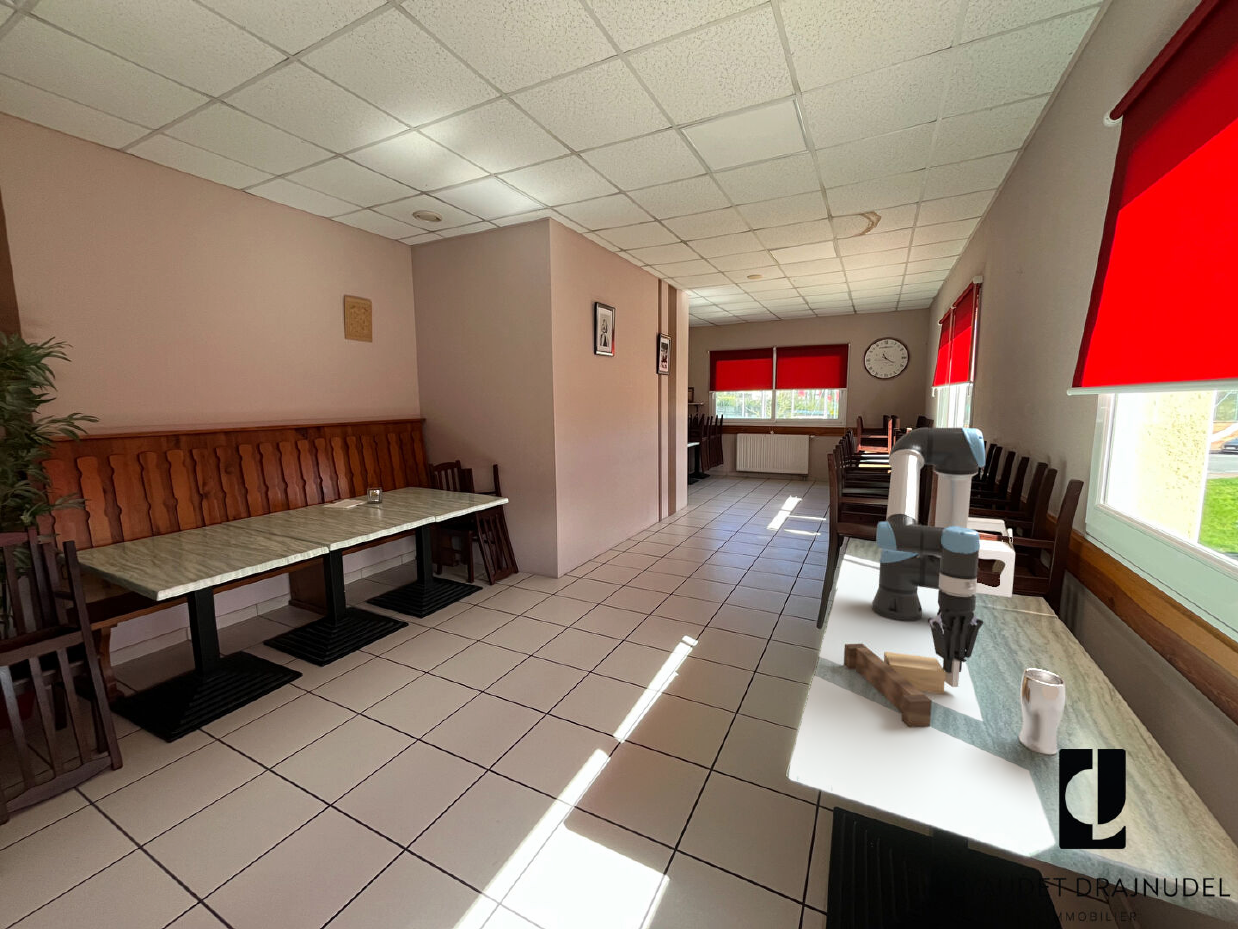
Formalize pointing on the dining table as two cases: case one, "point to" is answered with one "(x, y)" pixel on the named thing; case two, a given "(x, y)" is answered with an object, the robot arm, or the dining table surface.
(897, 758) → the dining table surface
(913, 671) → the oak block
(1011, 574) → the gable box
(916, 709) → the brown wooden bar
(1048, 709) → the silver metal tumbler
